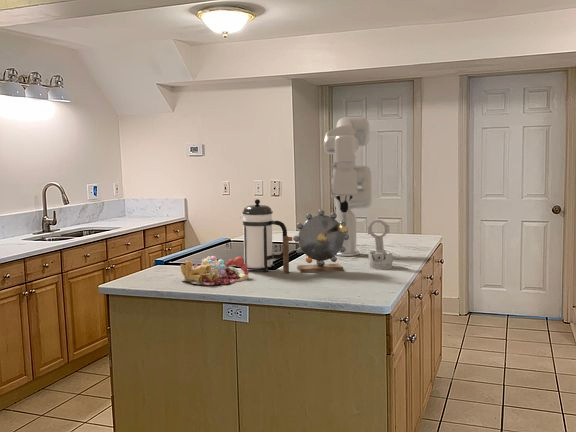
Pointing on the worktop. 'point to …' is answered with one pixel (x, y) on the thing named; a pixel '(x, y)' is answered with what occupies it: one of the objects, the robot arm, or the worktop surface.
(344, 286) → the worktop surface
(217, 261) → the candy landscape model
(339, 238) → the sprocket
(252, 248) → the coffee press
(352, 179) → the robot arm
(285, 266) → the wheel stand
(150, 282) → the worktop surface
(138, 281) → the worktop surface
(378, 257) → the engine component
